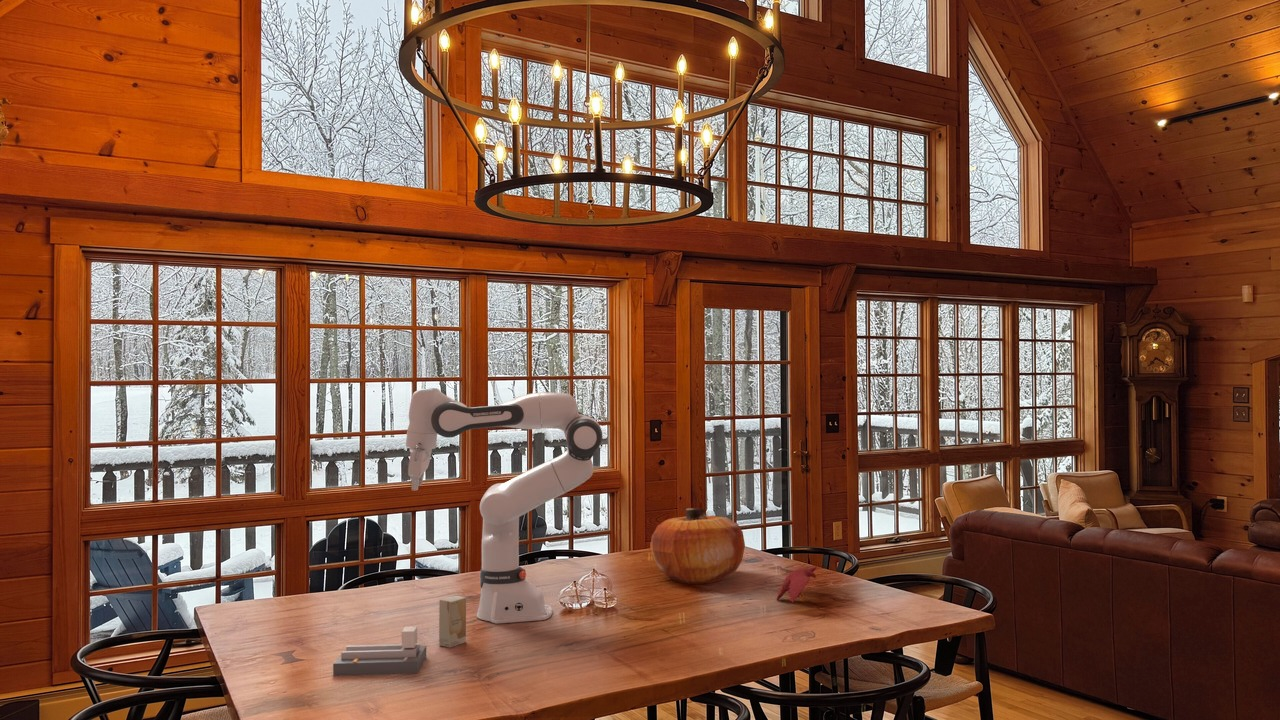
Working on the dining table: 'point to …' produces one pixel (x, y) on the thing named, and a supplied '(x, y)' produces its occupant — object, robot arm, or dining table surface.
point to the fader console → (379, 660)
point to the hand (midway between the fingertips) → (416, 487)
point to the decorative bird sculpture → (796, 583)
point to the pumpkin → (698, 547)
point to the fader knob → (409, 638)
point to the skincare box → (452, 621)
